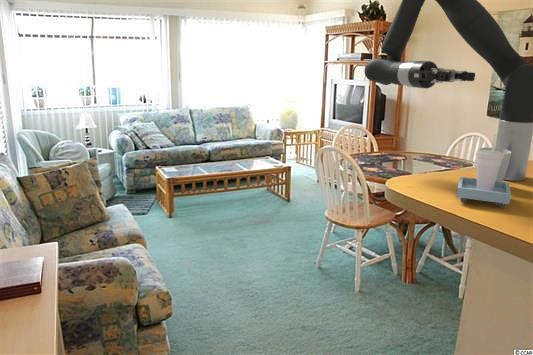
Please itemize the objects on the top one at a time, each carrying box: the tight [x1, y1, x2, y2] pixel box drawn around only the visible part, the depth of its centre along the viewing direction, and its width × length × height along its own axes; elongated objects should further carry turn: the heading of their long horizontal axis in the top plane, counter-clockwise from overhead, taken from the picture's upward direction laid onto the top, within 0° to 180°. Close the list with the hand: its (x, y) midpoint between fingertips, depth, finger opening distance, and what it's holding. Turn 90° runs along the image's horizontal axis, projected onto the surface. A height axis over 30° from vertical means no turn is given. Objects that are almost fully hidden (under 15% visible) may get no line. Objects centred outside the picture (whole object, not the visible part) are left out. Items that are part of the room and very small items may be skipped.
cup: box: [478, 147, 511, 182], centre depth 126 cm, size 8×8×10 cm
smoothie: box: [475, 134, 504, 191], centre depth 111 cm, size 6×6×14 cm
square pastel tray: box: [456, 176, 512, 208], centre depth 112 cm, size 12×12×4 cm
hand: (462, 77), depth 115 cm, fingers open, 8 cm apart
